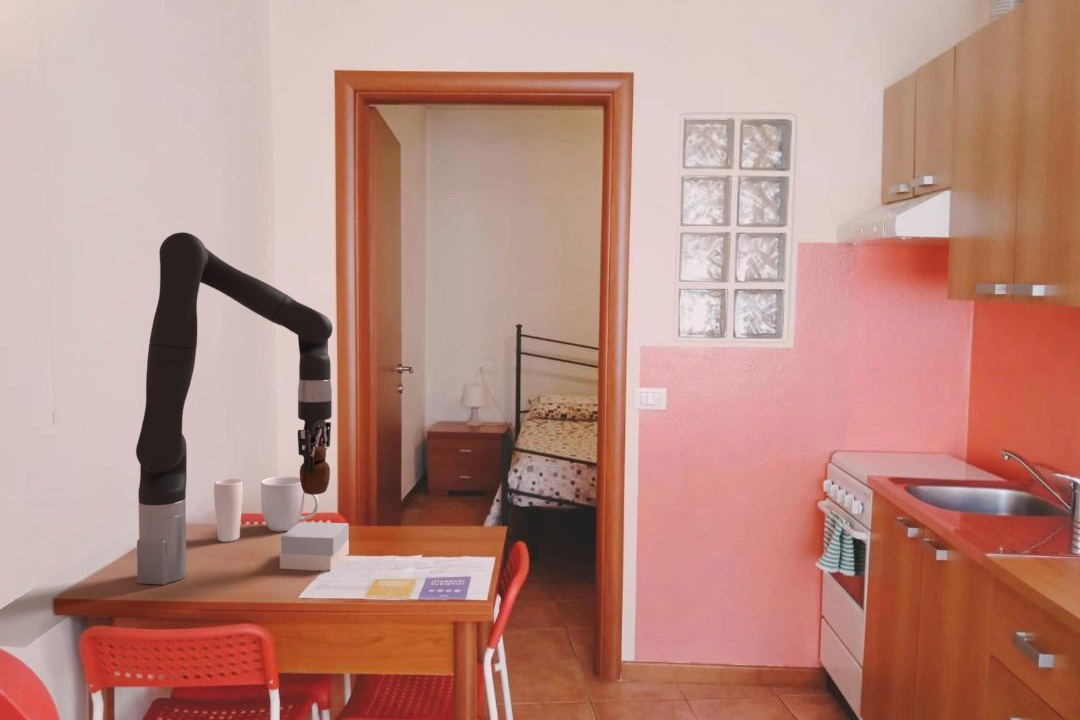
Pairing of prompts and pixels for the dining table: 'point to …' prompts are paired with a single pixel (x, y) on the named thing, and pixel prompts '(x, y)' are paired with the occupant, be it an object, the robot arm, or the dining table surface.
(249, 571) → the dining table surface
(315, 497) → the mug
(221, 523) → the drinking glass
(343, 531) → the tower top slab
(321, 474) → the wooden figurine
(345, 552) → the tower bottom slab
